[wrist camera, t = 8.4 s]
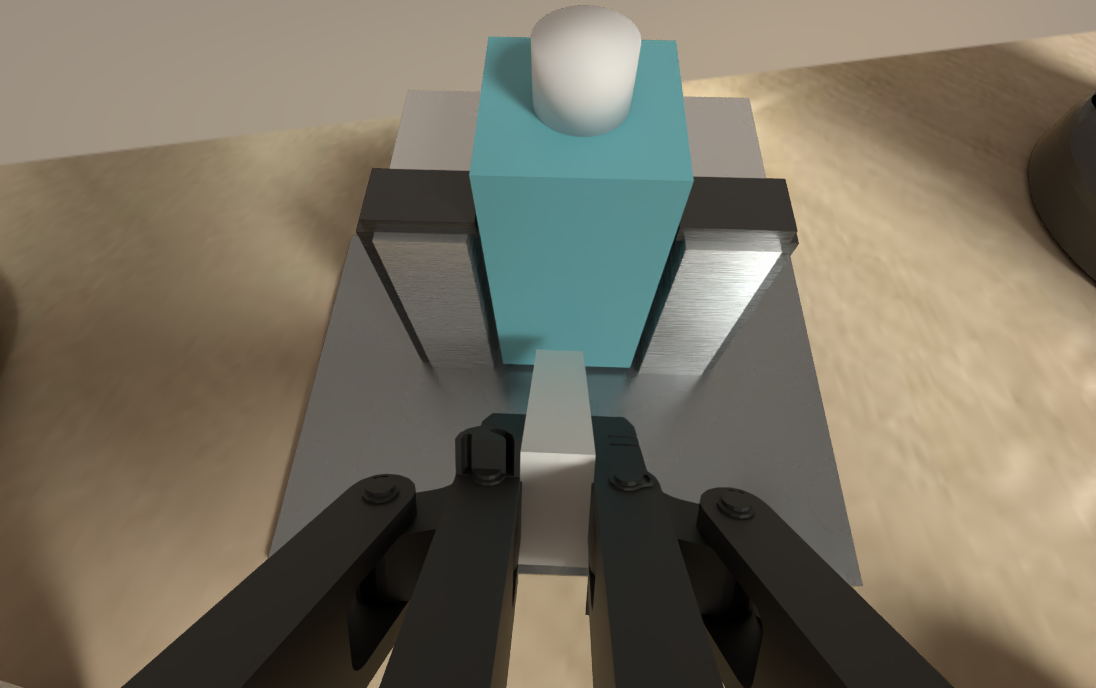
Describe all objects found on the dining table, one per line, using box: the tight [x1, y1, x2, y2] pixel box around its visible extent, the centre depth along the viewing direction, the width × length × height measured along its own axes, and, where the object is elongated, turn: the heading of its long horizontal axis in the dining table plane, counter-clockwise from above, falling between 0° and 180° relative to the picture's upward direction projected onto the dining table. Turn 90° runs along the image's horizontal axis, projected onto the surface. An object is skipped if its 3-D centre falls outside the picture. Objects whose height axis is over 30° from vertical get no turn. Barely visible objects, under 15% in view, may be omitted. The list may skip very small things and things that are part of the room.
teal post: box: [469, 5, 694, 368], centre depth 16 cm, size 5×5×12 cm
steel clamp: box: [268, 90, 863, 587], centre depth 17 cm, size 20×14×9 cm
